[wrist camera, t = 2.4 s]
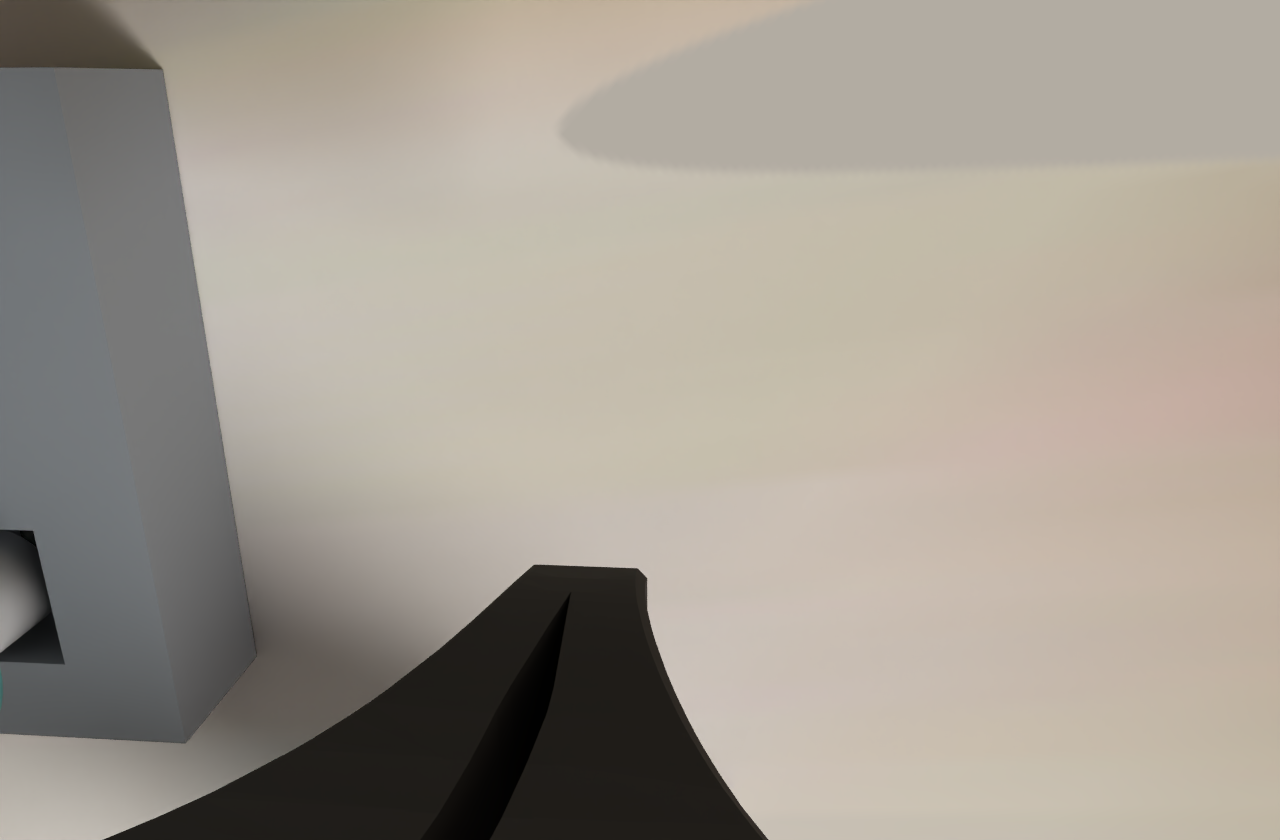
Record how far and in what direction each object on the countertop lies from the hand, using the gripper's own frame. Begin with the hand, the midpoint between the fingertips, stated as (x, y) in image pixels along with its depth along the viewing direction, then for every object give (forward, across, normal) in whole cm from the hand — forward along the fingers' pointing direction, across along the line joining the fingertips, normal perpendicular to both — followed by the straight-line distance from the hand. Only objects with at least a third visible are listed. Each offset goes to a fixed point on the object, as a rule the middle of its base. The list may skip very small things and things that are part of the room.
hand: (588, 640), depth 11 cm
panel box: (+10, +14, +1) cm, 17 cm away
